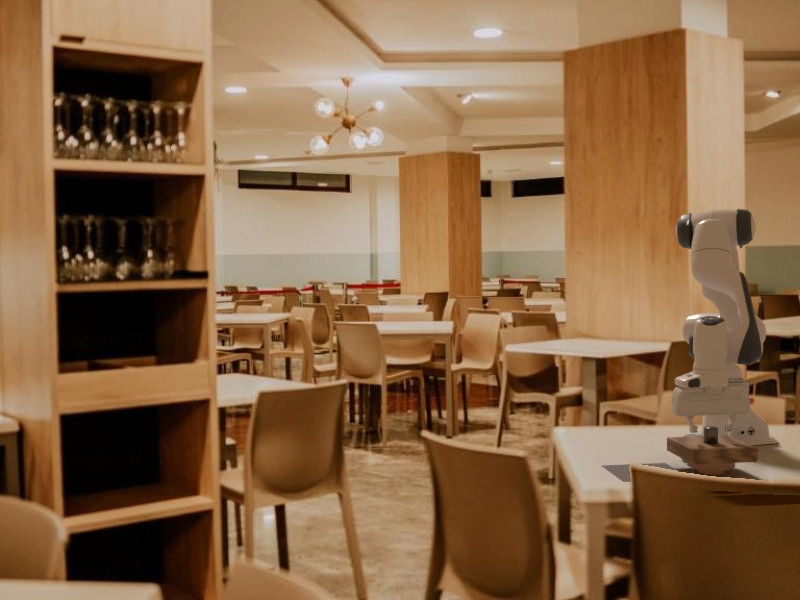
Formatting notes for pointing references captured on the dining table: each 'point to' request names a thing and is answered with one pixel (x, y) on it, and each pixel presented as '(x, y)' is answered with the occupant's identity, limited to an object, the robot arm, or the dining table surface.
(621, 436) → the dining table surface
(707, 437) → the lid
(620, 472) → the mat
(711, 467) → the bowl
